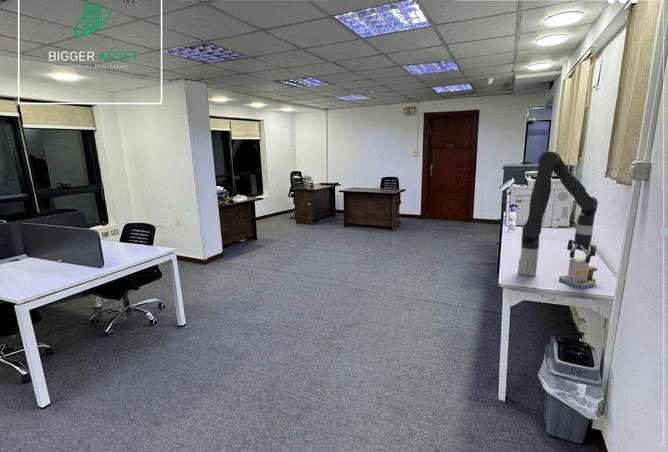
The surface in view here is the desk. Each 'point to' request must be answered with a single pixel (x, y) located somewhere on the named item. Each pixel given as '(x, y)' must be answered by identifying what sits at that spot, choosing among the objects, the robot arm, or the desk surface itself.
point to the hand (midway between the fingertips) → (579, 260)
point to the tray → (576, 284)
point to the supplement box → (578, 270)
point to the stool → (591, 274)
